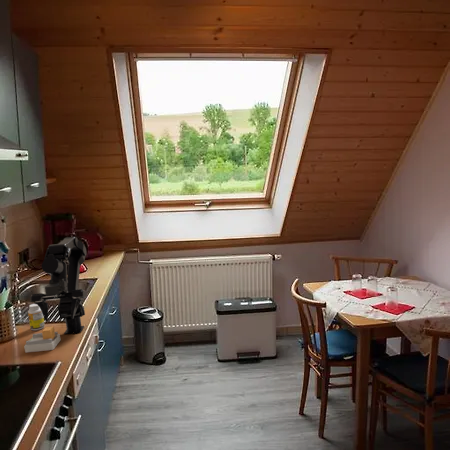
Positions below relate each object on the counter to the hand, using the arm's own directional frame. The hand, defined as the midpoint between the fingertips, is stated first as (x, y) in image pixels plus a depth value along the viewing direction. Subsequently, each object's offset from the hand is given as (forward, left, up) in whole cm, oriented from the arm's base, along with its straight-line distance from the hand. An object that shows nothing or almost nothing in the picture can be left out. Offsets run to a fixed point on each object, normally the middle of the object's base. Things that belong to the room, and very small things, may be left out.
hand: (59, 320), depth 159 cm
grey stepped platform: (-4, -9, -11) cm, 14 cm away
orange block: (-4, -6, -8) cm, 11 cm away
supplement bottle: (-24, -18, -11) cm, 32 cm away
